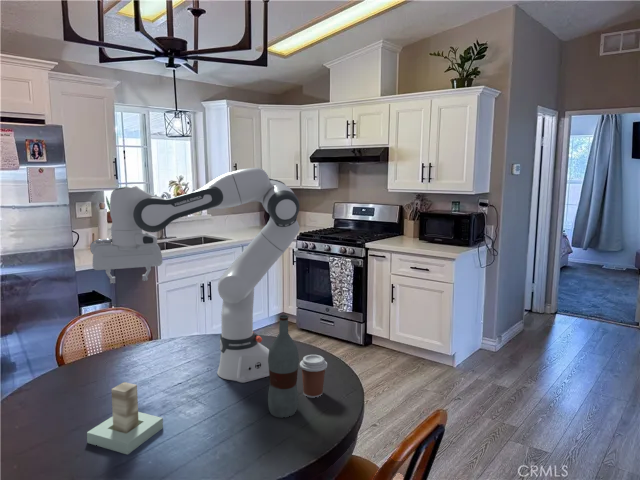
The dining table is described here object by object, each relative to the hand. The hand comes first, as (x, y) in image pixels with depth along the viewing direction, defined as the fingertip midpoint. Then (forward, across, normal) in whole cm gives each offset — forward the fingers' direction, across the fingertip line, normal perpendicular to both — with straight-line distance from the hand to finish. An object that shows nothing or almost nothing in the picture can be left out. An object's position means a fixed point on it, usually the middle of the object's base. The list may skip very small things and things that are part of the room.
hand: (129, 281), depth 145 cm
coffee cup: (+38, +54, -23) cm, 69 cm away
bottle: (+38, +41, -30) cm, 63 cm away
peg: (+37, -3, -26) cm, 45 cm away
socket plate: (+37, -3, -26) cm, 45 cm away
